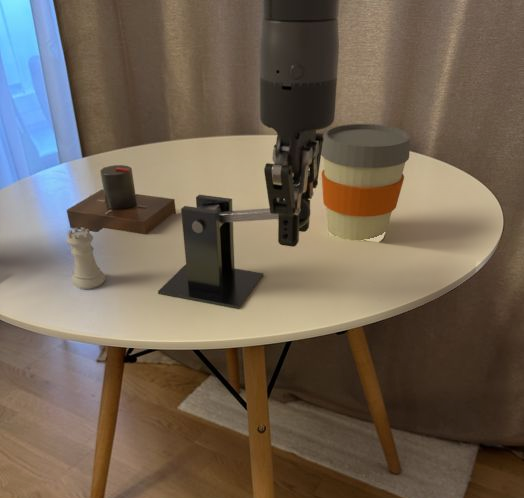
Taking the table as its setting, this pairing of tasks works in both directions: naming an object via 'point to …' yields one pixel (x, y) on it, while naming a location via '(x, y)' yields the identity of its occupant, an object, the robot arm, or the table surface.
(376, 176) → the reusable coffee cup
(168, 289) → the black lever stand
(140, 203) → the wooden knob base
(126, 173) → the knob
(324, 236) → the table surface
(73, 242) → the rook chess piece
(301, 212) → the ball knob lever
